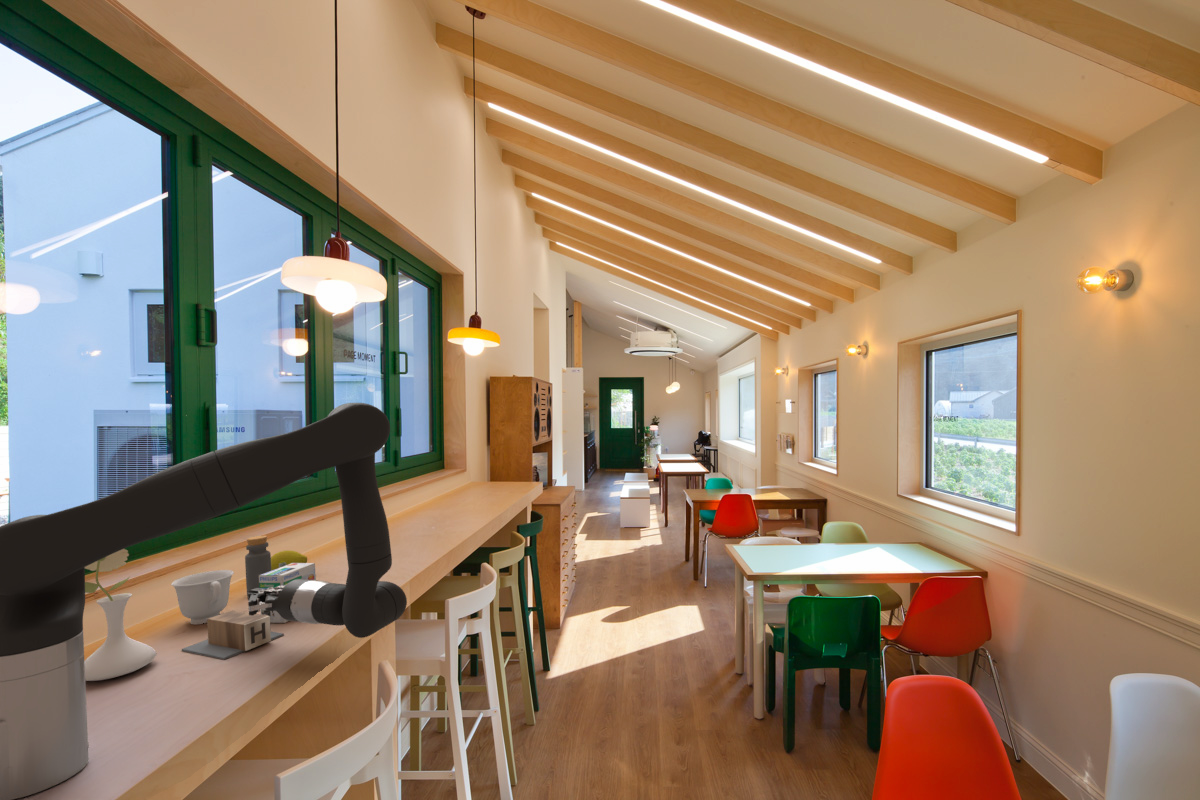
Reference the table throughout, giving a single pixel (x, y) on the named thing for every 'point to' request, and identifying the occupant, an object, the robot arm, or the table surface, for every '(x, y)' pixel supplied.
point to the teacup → (203, 594)
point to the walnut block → (239, 630)
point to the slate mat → (219, 648)
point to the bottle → (256, 561)
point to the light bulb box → (285, 582)
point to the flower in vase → (114, 630)
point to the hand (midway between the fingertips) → (251, 594)
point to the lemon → (286, 559)
